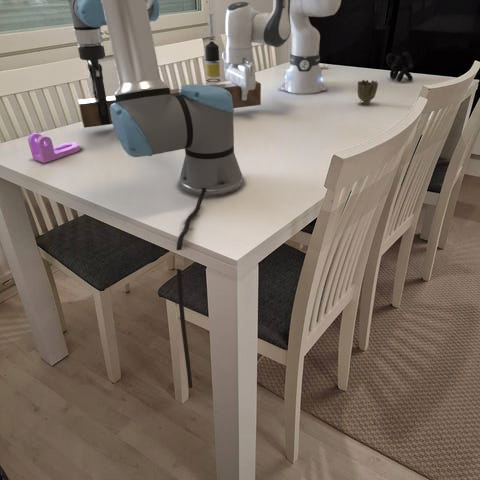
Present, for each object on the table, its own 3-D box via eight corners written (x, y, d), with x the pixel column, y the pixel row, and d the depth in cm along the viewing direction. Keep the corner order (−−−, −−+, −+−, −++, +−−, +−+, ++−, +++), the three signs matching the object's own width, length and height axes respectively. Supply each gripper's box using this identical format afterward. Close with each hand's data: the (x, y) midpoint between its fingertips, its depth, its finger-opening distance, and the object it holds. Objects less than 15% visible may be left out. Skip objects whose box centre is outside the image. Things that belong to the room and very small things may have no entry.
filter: (222, 96, 181) (219, 14, 165) (209, 97, 179) (205, 14, 164) (218, 93, 186) (215, 12, 170) (205, 94, 184) (200, 13, 168)
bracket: (44, 163, 123) (37, 138, 119) (33, 158, 126) (26, 134, 122) (83, 149, 132) (78, 126, 128) (72, 145, 135) (67, 122, 131)
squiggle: (400, 92, 202) (376, 71, 205) (417, 76, 202) (392, 56, 205) (405, 81, 191) (380, 59, 194) (423, 64, 191) (397, 42, 194)
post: (84, 127, 141) (79, 104, 137) (82, 123, 146) (77, 99, 142) (260, 104, 161) (260, 83, 157) (254, 101, 165) (254, 80, 161)
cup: (352, 105, 167) (355, 83, 163) (357, 100, 172) (360, 79, 168) (372, 107, 164) (375, 85, 160) (377, 102, 169) (380, 80, 165)
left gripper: (107, 47, 127) (120, 127, 139) (99, 39, 142) (111, 112, 154) (80, 50, 125) (96, 131, 137) (74, 41, 139) (89, 115, 152)
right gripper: (260, 60, 145) (260, 103, 152) (236, 51, 161) (237, 90, 168) (242, 62, 143) (243, 105, 150) (220, 52, 159) (222, 92, 166)
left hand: (104, 121), depth 145 cm, fingers closed on post, 5 cm apart
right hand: (240, 97), depth 159 cm, fingers closed on post, 5 cm apart
